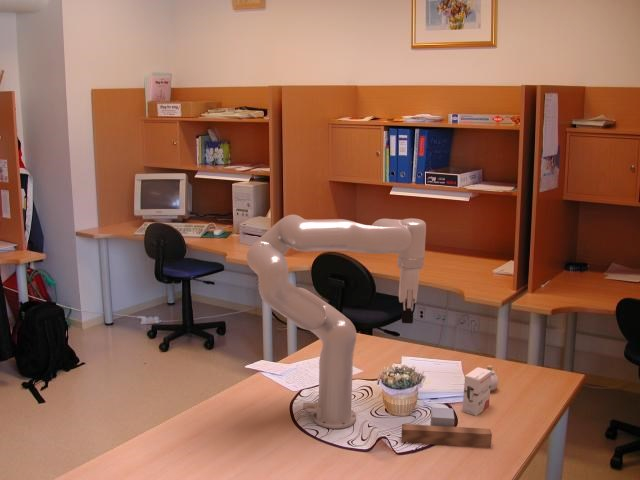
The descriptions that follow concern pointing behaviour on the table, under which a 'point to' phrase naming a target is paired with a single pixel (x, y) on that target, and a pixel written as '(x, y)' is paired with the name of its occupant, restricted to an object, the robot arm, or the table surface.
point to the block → (442, 417)
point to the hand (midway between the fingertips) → (407, 322)
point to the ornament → (493, 378)
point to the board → (446, 435)
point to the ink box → (477, 391)
